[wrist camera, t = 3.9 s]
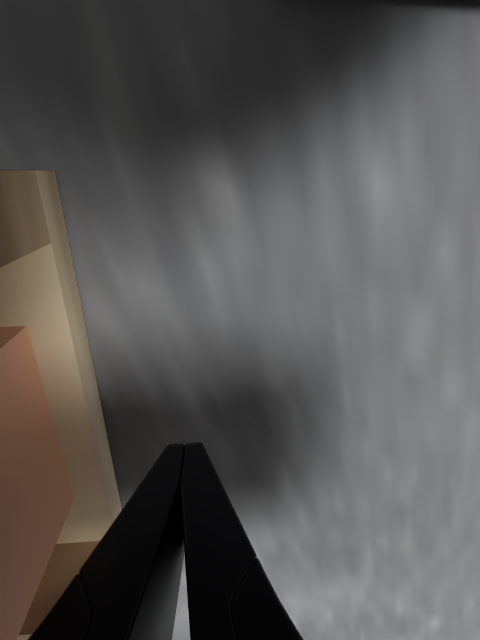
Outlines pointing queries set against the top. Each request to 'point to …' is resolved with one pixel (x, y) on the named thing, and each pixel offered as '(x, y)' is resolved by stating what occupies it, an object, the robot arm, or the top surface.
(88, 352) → the frame
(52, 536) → the terracotta block
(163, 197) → the top surface
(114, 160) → the top surface
